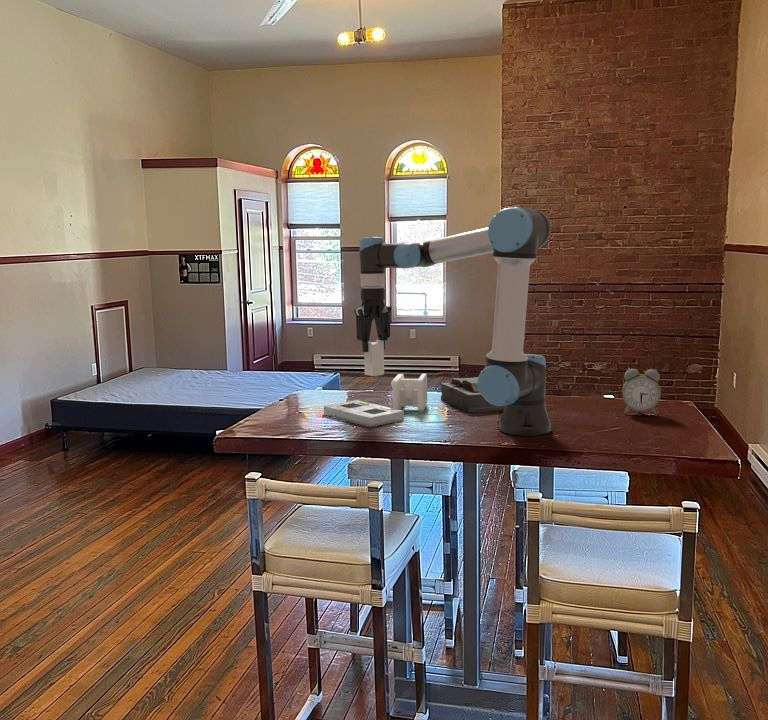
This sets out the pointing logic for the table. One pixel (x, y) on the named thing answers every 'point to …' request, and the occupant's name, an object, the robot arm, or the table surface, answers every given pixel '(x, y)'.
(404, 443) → the table surface
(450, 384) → the dark grey tray
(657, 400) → the alarm clock
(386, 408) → the panel
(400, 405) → the cable organizer
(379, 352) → the plug
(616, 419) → the table surface
